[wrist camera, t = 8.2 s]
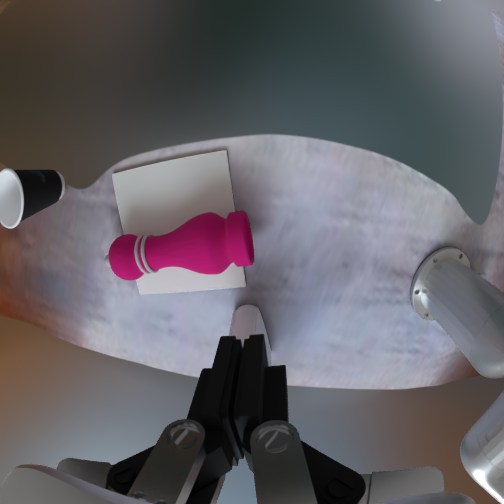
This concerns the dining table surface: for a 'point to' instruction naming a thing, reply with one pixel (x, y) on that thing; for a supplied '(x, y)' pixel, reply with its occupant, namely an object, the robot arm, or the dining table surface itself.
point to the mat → (177, 213)
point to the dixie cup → (27, 193)
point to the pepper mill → (186, 247)
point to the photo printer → (249, 325)
